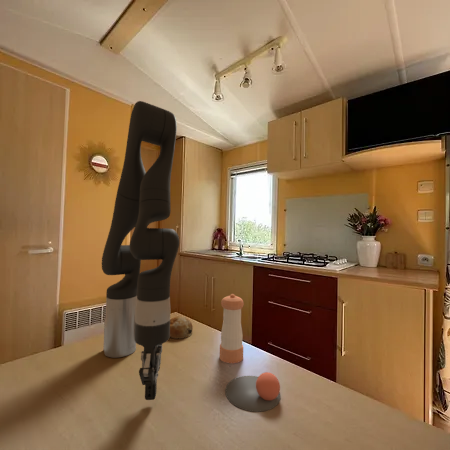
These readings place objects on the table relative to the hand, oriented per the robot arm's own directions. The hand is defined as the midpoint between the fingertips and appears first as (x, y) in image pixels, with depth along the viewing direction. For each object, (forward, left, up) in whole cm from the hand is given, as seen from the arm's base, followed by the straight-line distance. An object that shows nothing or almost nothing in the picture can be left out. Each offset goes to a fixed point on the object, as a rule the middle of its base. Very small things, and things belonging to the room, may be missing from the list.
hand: (150, 397), depth 55 cm
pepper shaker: (+3, +28, -2) cm, 28 cm away
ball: (+20, +17, +1) cm, 26 cm away
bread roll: (-23, +31, -2) cm, 38 cm away
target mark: (+16, +17, -2) cm, 24 cm away
